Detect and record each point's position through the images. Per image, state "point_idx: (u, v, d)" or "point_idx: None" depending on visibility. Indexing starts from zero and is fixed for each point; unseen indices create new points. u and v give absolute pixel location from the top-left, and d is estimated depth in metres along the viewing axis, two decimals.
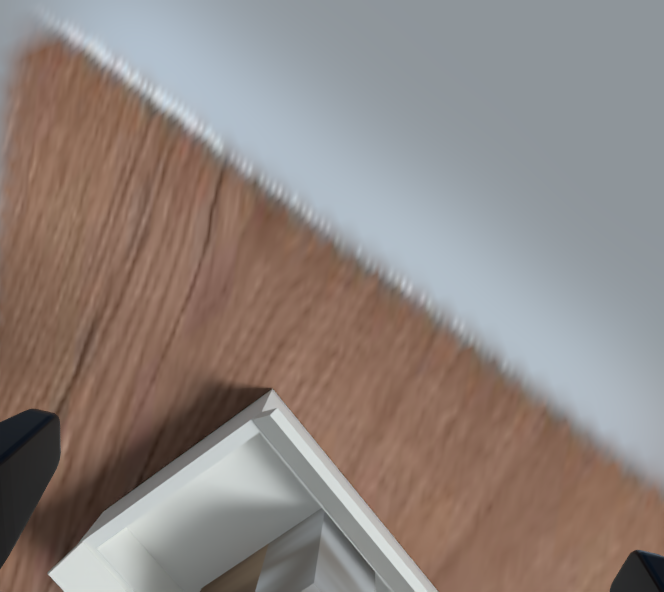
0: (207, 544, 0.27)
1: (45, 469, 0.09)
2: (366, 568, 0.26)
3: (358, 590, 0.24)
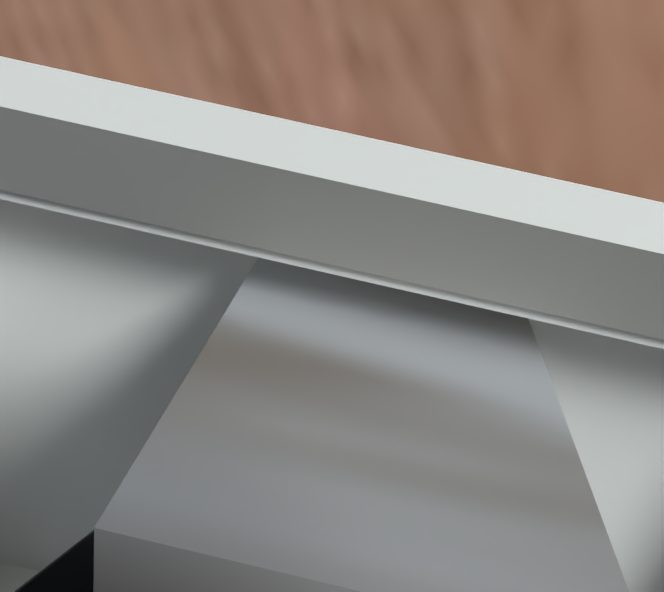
0: None
1: None
2: (486, 322, 0.07)
3: (457, 404, 0.06)
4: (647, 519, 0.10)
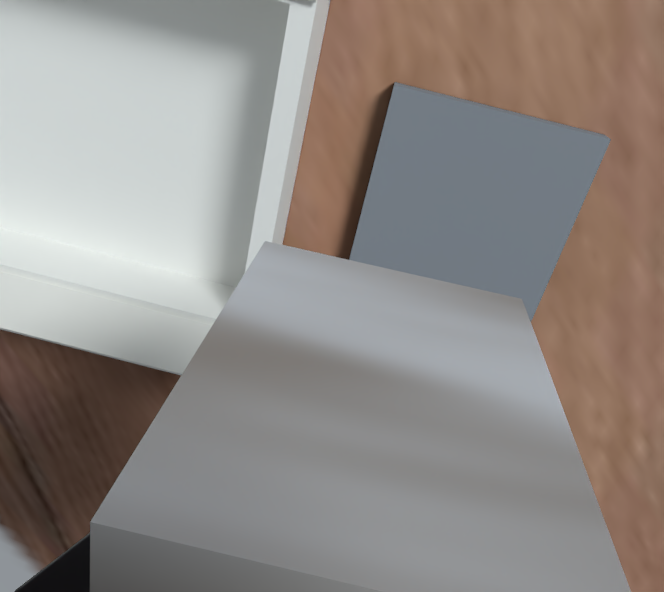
0: None
1: None
2: (486, 319, 0.07)
3: (457, 399, 0.06)
4: (220, 135, 0.18)
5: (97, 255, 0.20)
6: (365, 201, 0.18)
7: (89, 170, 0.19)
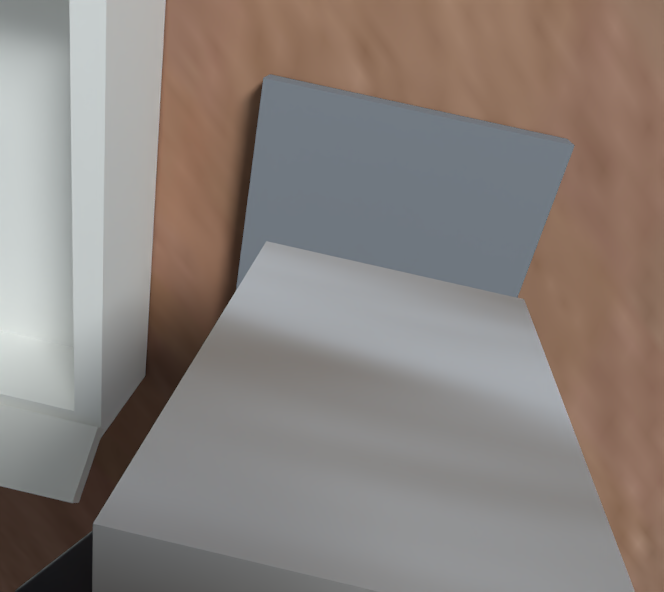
0: None
1: None
2: (488, 320, 0.07)
3: (459, 399, 0.06)
4: (44, 156, 0.13)
5: None
6: (244, 239, 0.13)
7: None
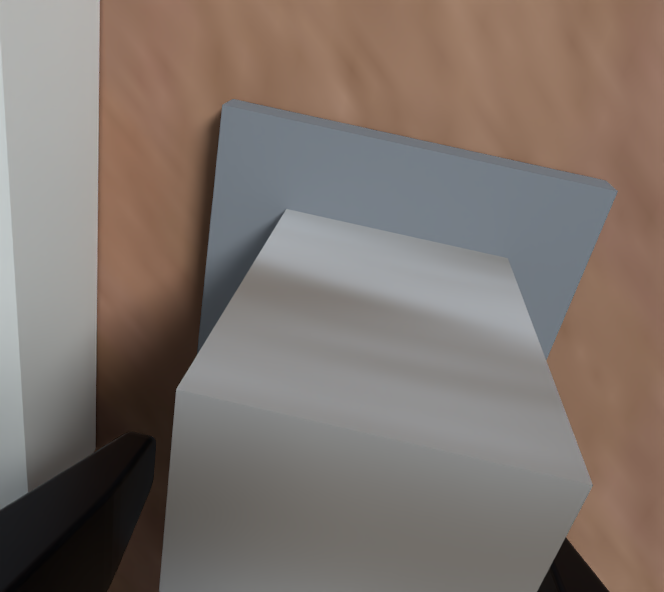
0: None
1: (143, 492, 0.09)
2: (475, 272, 0.09)
3: (449, 325, 0.07)
4: None
5: None
6: (204, 300, 0.10)
7: None
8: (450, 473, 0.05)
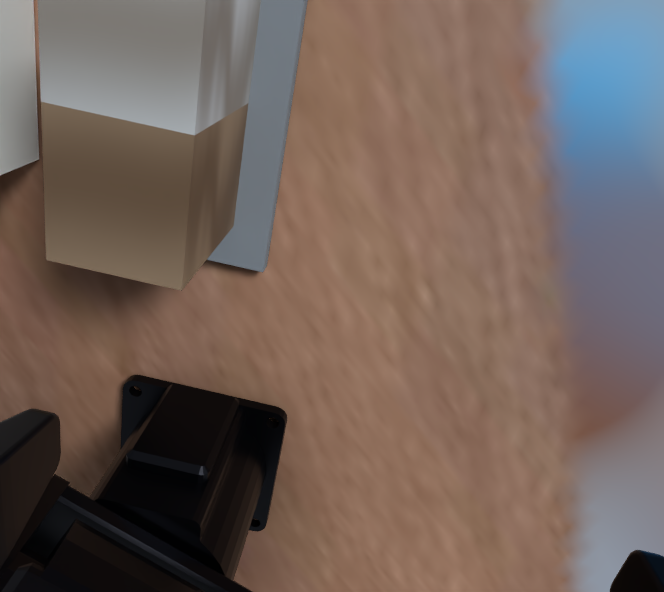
0: None
1: (45, 469, 0.09)
2: None
3: None
4: None
5: None
6: None
7: None
8: None
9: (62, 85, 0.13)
